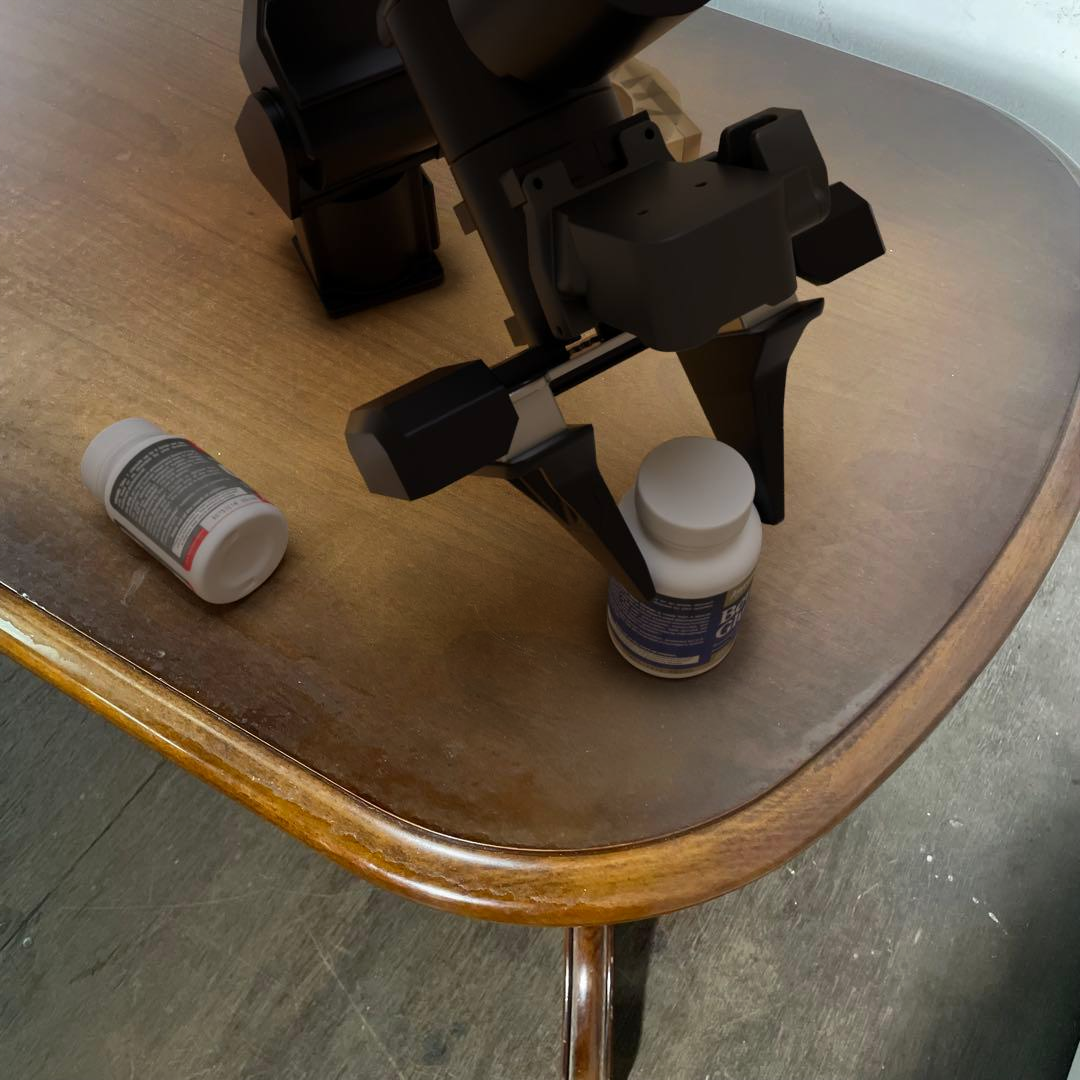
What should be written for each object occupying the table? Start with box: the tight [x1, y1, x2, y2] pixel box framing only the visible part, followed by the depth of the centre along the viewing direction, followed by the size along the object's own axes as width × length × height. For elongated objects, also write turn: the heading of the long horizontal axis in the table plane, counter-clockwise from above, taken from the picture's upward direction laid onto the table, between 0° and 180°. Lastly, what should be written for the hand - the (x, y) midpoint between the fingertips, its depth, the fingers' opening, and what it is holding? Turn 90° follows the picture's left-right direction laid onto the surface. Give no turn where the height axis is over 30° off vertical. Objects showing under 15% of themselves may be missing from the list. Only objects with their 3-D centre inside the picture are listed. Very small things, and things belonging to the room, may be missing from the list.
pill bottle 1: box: [79, 417, 290, 605], centre depth 44 cm, size 5×5×8 cm
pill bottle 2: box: [606, 435, 763, 679], centre depth 39 cm, size 5×5×10 cm
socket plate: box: [608, 56, 703, 162], centre depth 60 cm, size 11×11×3 cm
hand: (711, 560), depth 37 cm, fingers closed on pill bottle 2, 5 cm apart
